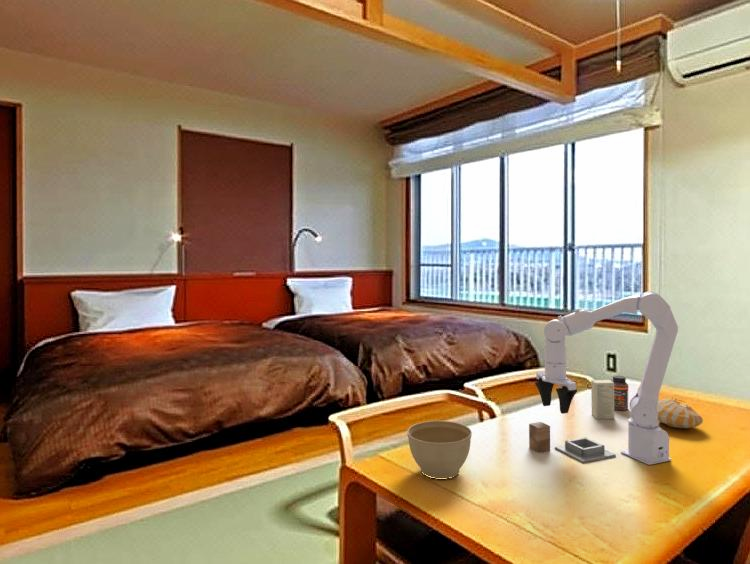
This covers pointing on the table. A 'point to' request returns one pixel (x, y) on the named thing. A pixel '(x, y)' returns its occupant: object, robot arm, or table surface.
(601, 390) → the skincare box
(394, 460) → the table surface
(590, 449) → the stand
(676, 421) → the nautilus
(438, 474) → the planter bowl
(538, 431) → the walnut block
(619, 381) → the supplement bottle
